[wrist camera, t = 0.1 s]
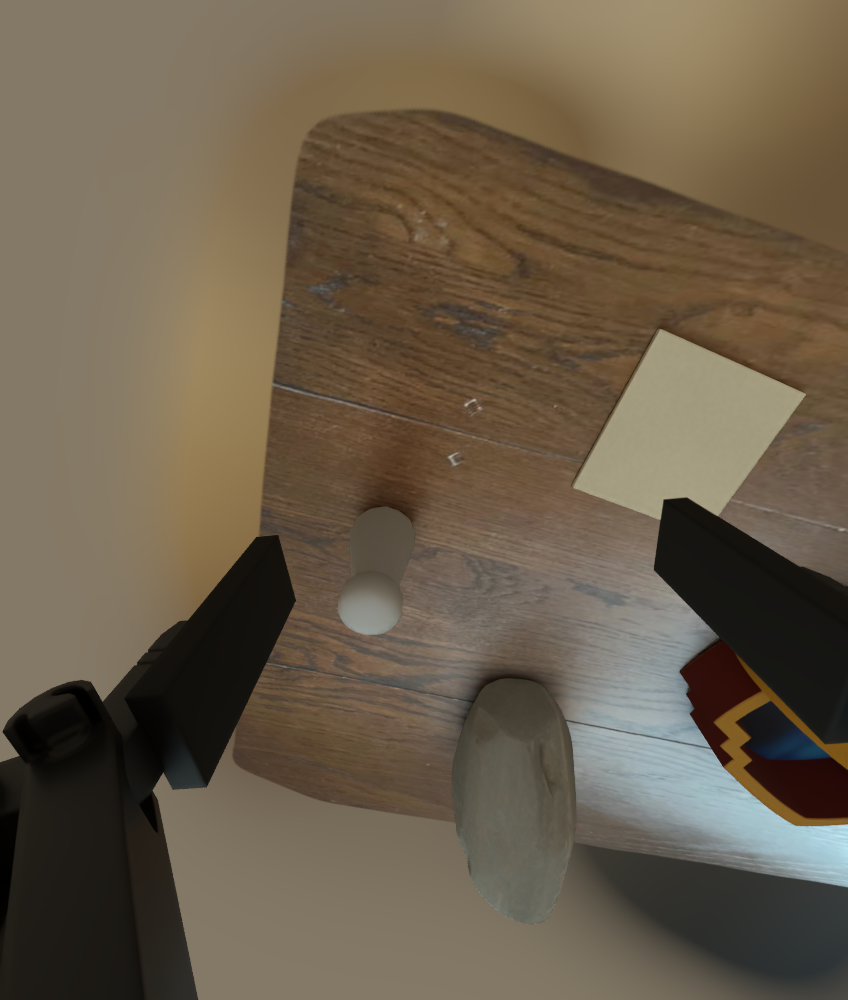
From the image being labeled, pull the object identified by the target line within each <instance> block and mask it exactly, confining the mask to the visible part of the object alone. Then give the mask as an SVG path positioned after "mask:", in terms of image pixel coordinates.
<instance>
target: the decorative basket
mask: <svg viewBox="0 0 848 1000" xmlns="http://www.w3.org/2000/svg"><path fill="white" fill-rule="evenodd" d="M680 673H681V675H682V676H683V678H684V679H685V681H686V682H687V684H688V685H689V687H690V688H691V690H690V691H689V692H687V693H686V695H687V697H688V698H689V700H690V701H691V703H692V704H693V706H694V707H695V709H694V710H693V711H692V712H691V713H690V715H691V717H692V718H693V720H694V721H695V723H696V725H697V726H698V728H699V729H700V731H701V733H702V734H703V736H704V737H705V739H706V740H707V742H708V744H709V745H710V747H711V748H712V750H713V752H714V753H715V755H716V756H717V758H718V759H719V761H720V763H721V764H722V766H723V767H724V768H725V769H726V770H727V771H728V772H729V773H730V774H731V775H732V776H733V777H734V778H735V779H736V780H737V781H738V782H739V783H740V784H741V785H742V786H743V787H745V788H746V789H747V790H748V791H749V792H750V793H751V794H752V795H753V796H755V797H756V798H757V799H758V800H759V801H760V802H762V803H763V804H764V805H765V806H767V807H768V808H769V809H770V810H772V811H773V812H774V813H776V814H777V815H779V816H780V817H782V818H783V819H785V820H787V821H788V822H790V823H792V824H793V825H795V826H829V825H844V824H848V743H839V744H824V743H823V742H822V741H821V740H820V739H819V738H818V737H817V736H816V735H815V734H814V733H813V732H812V731H811V730H810V729H809V728H808V727H807V726H806V725H805V724H804V723H803V722H802V721H801V720H800V719H799V718H798V717H797V716H796V715H795V713H794V712H793V711H792V710H791V709H790V708H789V707H788V706H787V705H786V704H785V703H784V702H783V701H782V700H781V699H780V698H779V697H778V696H777V695H776V694H775V693H774V692H773V691H772V690H771V689H770V688H769V687H768V686H767V685H766V684H765V683H764V682H763V681H762V680H761V679H760V678H759V677H758V676H757V675H756V674H755V673H754V672H753V671H752V670H751V669H750V668H749V667H748V665H747V664H746V663H745V662H744V661H743V660H742V659H741V658H740V657H739V656H738V655H737V654H736V653H735V652H734V651H733V650H732V649H731V648H730V647H729V646H728V645H727V644H726V643H725V642H724V641H721V642H720V643H718V644H716V645H715V646H713V647H712V648H710V649H709V650H707V651H705V652H704V653H702V654H701V655H700V656H698V657H697V658H696V659H694V660H693V661H692V662H690V663H689V664H688V665H687V666H686V667H684V668H683V669H682V670H681V671H680Z"/></svg>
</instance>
